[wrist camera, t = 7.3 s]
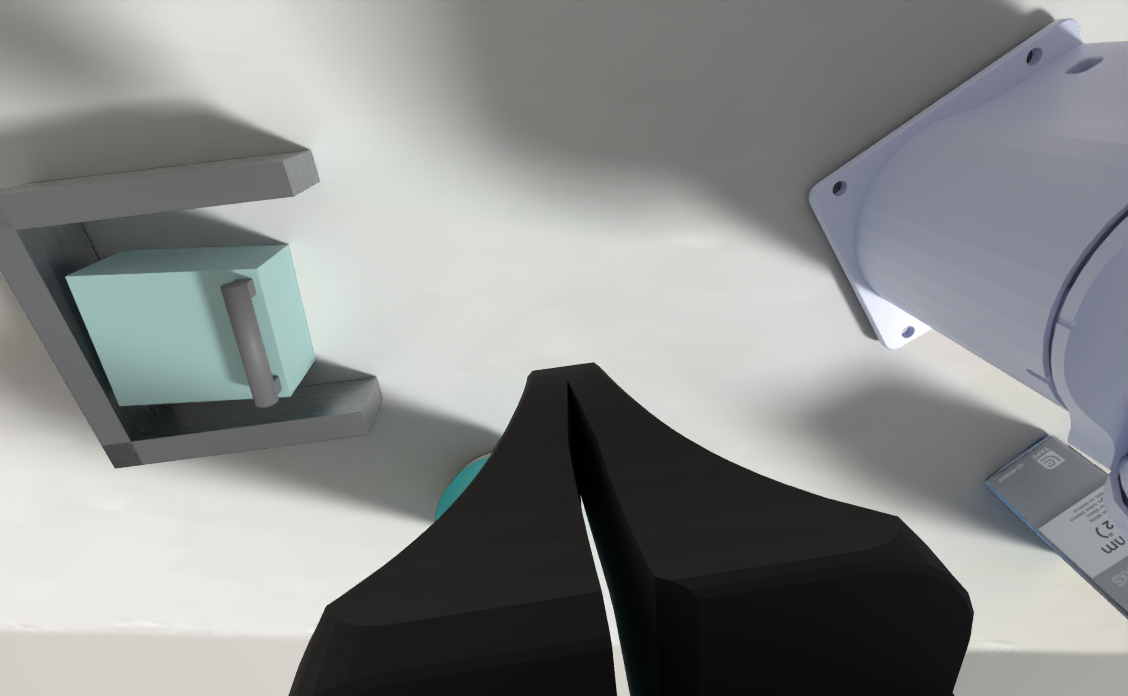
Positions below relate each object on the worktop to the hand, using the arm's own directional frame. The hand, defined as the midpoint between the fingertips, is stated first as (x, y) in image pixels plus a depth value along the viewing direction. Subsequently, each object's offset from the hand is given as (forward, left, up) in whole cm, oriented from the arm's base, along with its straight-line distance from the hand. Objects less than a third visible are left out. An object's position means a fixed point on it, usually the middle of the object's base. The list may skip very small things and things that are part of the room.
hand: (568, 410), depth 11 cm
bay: (+10, -5, -10) cm, 15 cm away
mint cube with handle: (+10, -5, -11) cm, 16 cm away
